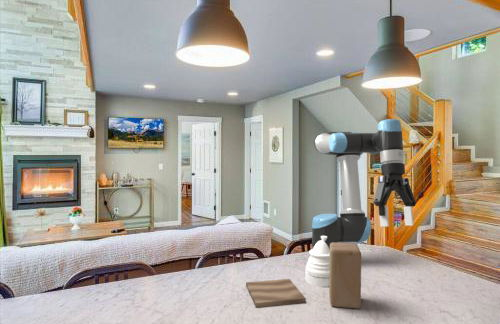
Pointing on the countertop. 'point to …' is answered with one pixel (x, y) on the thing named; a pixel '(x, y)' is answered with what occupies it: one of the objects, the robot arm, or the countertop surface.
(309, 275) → the honey pot
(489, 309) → the countertop surface
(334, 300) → the wooden block
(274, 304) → the walnut board
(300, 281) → the countertop surface
